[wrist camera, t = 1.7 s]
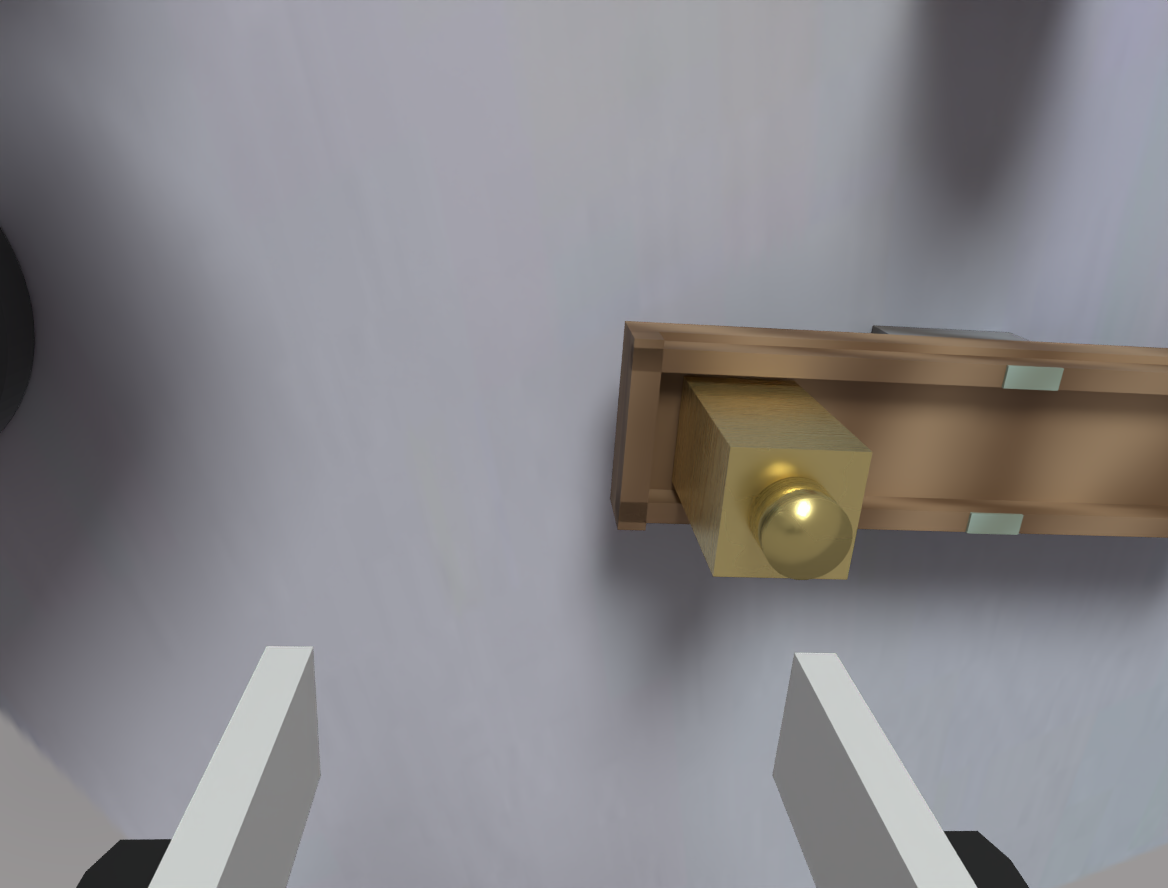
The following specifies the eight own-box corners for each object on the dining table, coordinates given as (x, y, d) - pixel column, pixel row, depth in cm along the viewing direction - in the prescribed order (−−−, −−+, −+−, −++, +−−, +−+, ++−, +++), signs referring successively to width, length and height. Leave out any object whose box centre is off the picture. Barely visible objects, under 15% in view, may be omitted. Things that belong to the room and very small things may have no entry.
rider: (671, 481, 30) (725, 604, 23) (683, 375, 29) (744, 467, 21) (778, 484, 31) (866, 606, 23) (794, 380, 29) (895, 472, 22)
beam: (600, 463, 36) (617, 534, 30) (613, 299, 34) (635, 339, 27) (1199, 483, 39) (1333, 553, 32) (1252, 333, 36) (1408, 376, 30)
